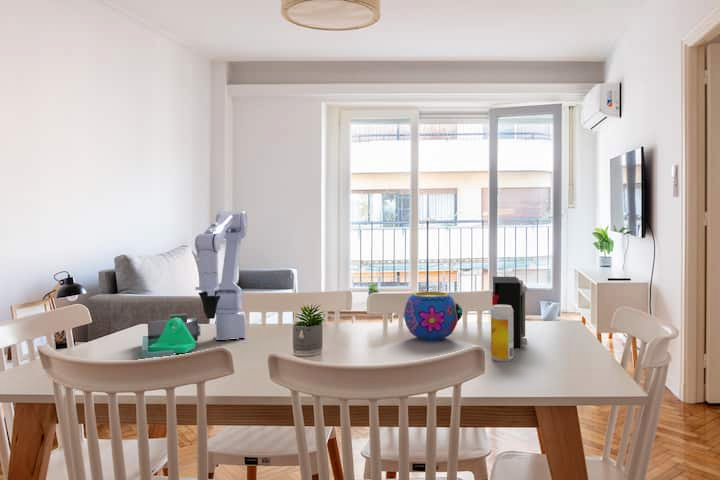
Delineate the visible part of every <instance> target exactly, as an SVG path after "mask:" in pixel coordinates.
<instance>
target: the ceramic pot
mask: <svg viewBox="0 0 720 480" xmlns="http://www.w3.org/2000/svg"><path fill="white" fill-rule="evenodd" d="M462 315H463V308H462V307H461V305H460V304H459V303H456V301H455V300H454V299H453V297H452V296H451V295H450V294H449V293H447V292H443V291H419V292H415V293H413V294H411V295H410V297H409V298H408V299H407V301H406V303H405V306H404V311H403V317H404V318H403V319H404V322H405V326H406V327H407V330H408V331H409V333H410V334H411V335H412V336H413V337H414V336H415V337H416V338H418V339H420V340H425V341H428V342H429V341H431V342H433V341H440V340H443V339H446V338H447V337H448V336H450V335H451V334H453V332H454V331H455V328H456V326H457V325H458V322H459V321H460V319H461V318H462Z"/></svg>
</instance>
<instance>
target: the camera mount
mask: <svg viewBox="0 0 720 480" xmlns="http://www.w3.org/2000/svg"><path fill="white" fill-rule="evenodd" d="M167 320H168V321H167V322H166V325H165V329H164V331H163V333H162V334H161V336H160V338H159V339H158V341H157V343H155V344H153V345H151V346H149V347H148V352H158V351H169V350H174V353H178V354H180V353H181V354H182V353H183V354H184V353H185V354H186V353H187V352H190V351H191V350H194V349H195V348H196V347H197V342H196V341H195V340H194V338H193V337H192V335H191V333H190V332H189V330H188V329H187V327H186V325H185V324H184V322H183V321H182V319H180V318H178V317H175V318H172V319H171V318H170V319H167ZM174 324H175V326H176V327H174Z"/></svg>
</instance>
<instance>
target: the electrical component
mask: <svg viewBox="0 0 720 480" xmlns="http://www.w3.org/2000/svg"><path fill="white" fill-rule="evenodd" d="M523 280H524V279H523ZM523 280H522V279H520V278H519V277H516V276H492V292H491V294H492V299H491V300H492V303H491V307H492V306H493V305H498V304H503V305H511V306H512V308H513V350H521V349H523V346H527V345H528V339H527V338H526V292H527V291H528V286H527V285H526V284H524V281H523Z"/></svg>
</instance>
